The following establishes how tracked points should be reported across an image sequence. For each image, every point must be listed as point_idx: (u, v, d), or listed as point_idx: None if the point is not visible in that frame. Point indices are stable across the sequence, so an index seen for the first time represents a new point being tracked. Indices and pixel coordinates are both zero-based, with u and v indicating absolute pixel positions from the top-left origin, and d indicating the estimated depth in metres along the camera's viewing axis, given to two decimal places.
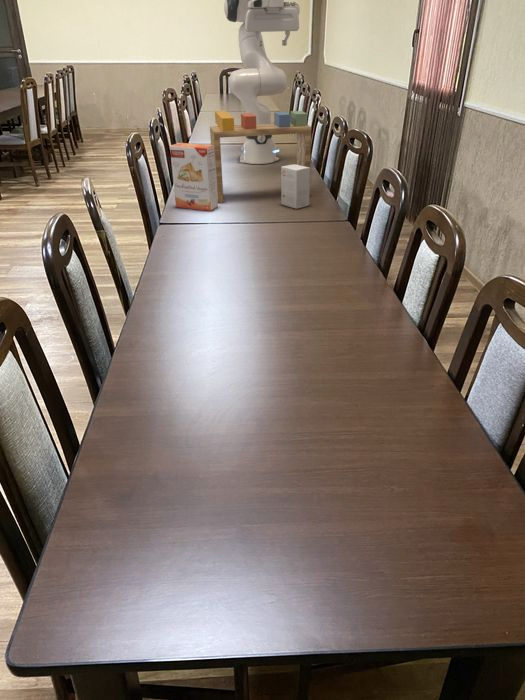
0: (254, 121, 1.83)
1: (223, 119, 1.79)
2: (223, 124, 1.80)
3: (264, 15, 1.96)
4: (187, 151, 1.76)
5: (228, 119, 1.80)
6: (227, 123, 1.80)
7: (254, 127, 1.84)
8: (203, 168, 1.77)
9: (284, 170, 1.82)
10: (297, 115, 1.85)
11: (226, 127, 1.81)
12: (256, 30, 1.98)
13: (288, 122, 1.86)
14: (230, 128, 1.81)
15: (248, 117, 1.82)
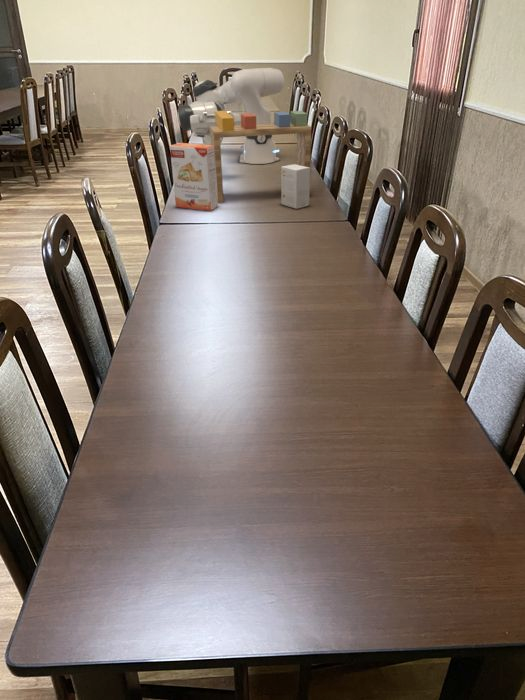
0: (254, 121, 1.83)
1: (223, 119, 1.79)
2: (223, 124, 1.80)
3: None
4: (187, 151, 1.76)
5: (228, 119, 1.80)
6: (227, 123, 1.80)
7: (254, 127, 1.84)
8: (203, 168, 1.77)
9: (284, 170, 1.82)
10: (297, 115, 1.85)
11: (226, 127, 1.81)
12: (199, 114, 2.08)
13: (288, 122, 1.86)
14: (230, 128, 1.81)
15: (248, 117, 1.82)
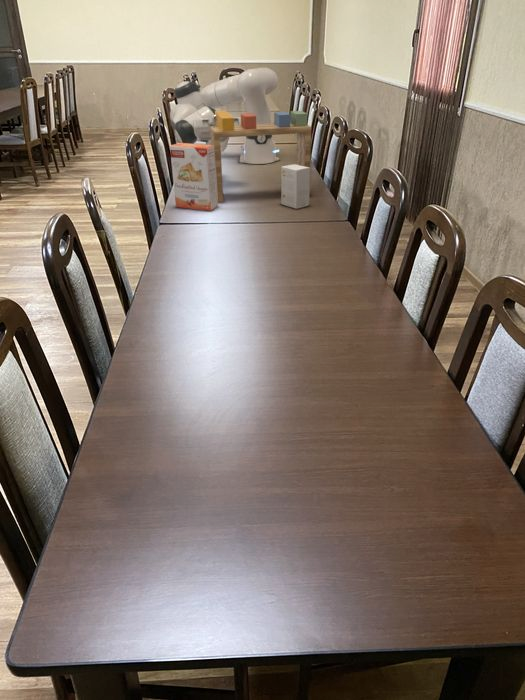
0: (254, 121, 1.83)
1: (223, 119, 1.79)
2: (223, 124, 1.80)
3: None
4: (187, 151, 1.76)
5: (228, 119, 1.80)
6: (227, 123, 1.80)
7: (254, 127, 1.84)
8: (203, 168, 1.77)
9: (284, 170, 1.82)
10: (297, 115, 1.85)
11: (226, 127, 1.81)
12: (203, 118, 1.98)
13: (288, 122, 1.86)
14: (230, 128, 1.81)
15: (248, 117, 1.82)
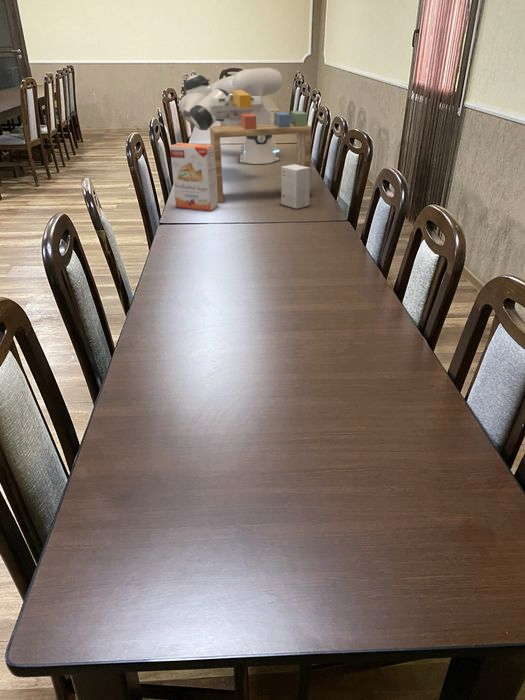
0: (254, 121, 1.83)
1: (240, 96, 1.85)
2: (240, 101, 1.86)
3: None
4: (187, 151, 1.76)
5: (245, 96, 1.85)
6: (244, 100, 1.86)
7: (254, 127, 1.84)
8: (203, 168, 1.77)
9: (284, 170, 1.82)
10: (297, 115, 1.85)
11: (243, 104, 1.87)
12: (219, 97, 2.04)
13: (288, 122, 1.86)
14: (247, 105, 1.87)
15: (248, 117, 1.82)
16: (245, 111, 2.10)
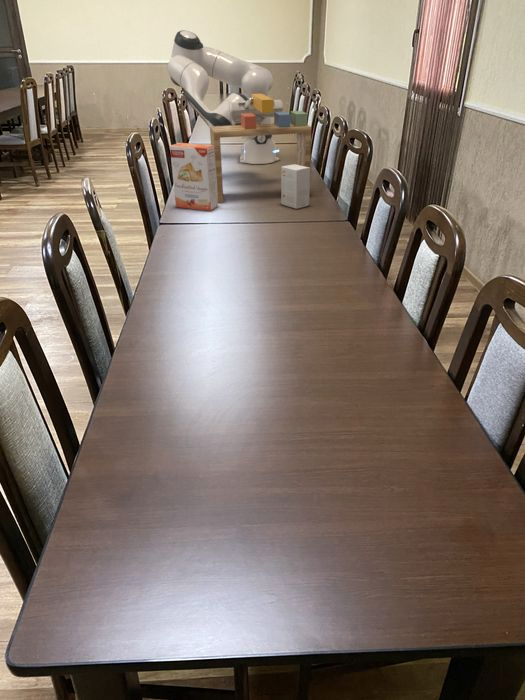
0: (254, 121, 1.83)
1: (263, 100, 1.79)
2: (263, 106, 1.80)
3: None
4: (187, 151, 1.76)
5: (268, 101, 1.80)
6: (267, 105, 1.80)
7: (254, 127, 1.84)
8: (203, 168, 1.77)
9: (284, 170, 1.82)
10: (297, 115, 1.85)
11: (266, 109, 1.81)
12: (239, 101, 1.98)
13: (288, 122, 1.86)
14: (269, 110, 1.81)
15: (248, 117, 1.82)
16: (265, 115, 2.04)
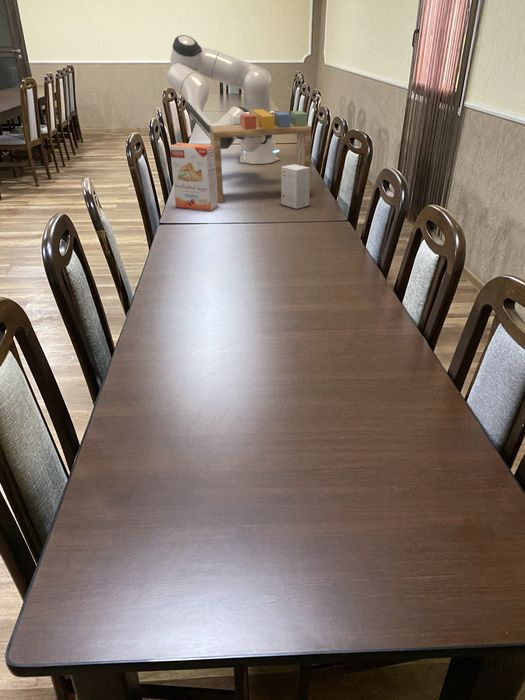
0: (254, 121, 1.83)
1: (264, 117, 1.82)
2: (264, 122, 1.82)
3: None
4: (187, 151, 1.76)
5: (269, 117, 1.82)
6: (268, 121, 1.82)
7: (254, 127, 1.84)
8: (203, 168, 1.77)
9: (284, 170, 1.82)
10: (297, 115, 1.85)
11: (266, 125, 1.83)
12: (240, 115, 2.00)
13: (288, 122, 1.86)
14: (270, 126, 1.83)
15: (248, 117, 1.82)
16: None
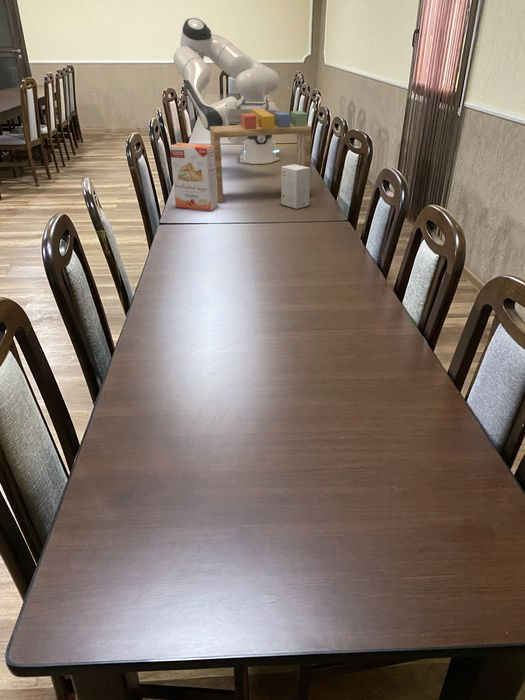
0: (254, 121, 1.83)
1: (264, 117, 1.82)
2: (264, 122, 1.82)
3: None
4: (187, 151, 1.76)
5: (269, 117, 1.82)
6: (268, 121, 1.82)
7: (254, 127, 1.84)
8: (203, 168, 1.77)
9: (284, 170, 1.82)
10: (297, 115, 1.85)
11: (266, 125, 1.83)
12: None
13: (288, 122, 1.86)
14: (270, 126, 1.83)
15: (248, 117, 1.82)
16: None
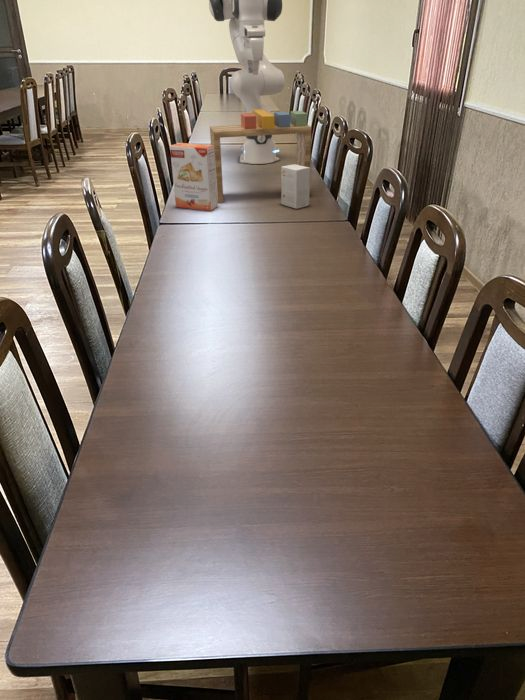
0: (254, 121, 1.83)
1: (264, 117, 1.82)
2: (264, 122, 1.82)
3: None
4: (187, 151, 1.76)
5: (269, 117, 1.82)
6: (268, 121, 1.82)
7: (254, 127, 1.84)
8: (203, 168, 1.77)
9: (284, 170, 1.82)
10: (297, 115, 1.85)
11: (266, 125, 1.83)
12: None
13: (288, 122, 1.86)
14: (270, 126, 1.83)
15: (248, 117, 1.82)
16: (245, 42, 1.98)
